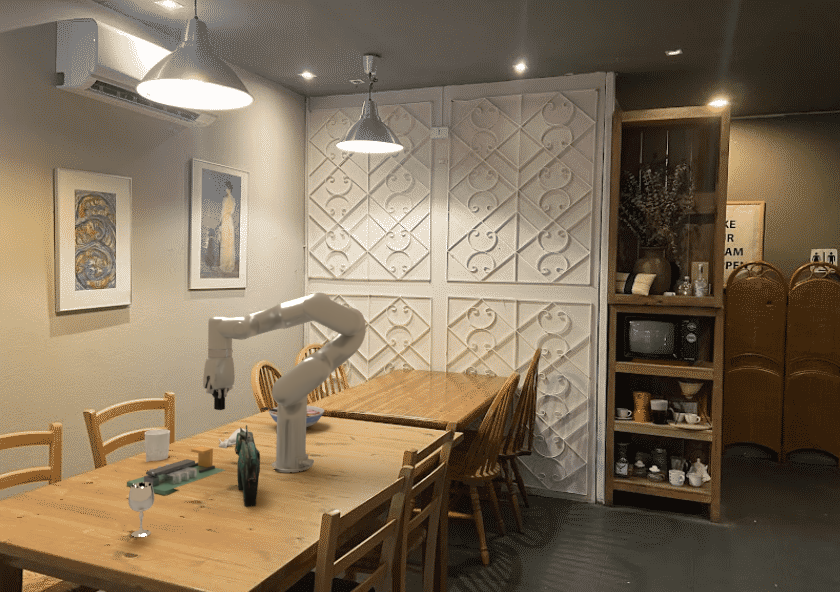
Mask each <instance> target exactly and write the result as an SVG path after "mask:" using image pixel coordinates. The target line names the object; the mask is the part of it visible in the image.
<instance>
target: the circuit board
mask: <svg viewBox="0 0 840 592" xmlns="http://www.w3.org/2000/svg"><path fill="white" fill-rule="evenodd" d="M187 467H192V468H196V469H197V478H195V479H194V478H190V479H189V481H181V483H180V484H177V483H175V484H170V483H166V482H161V481H159V485H157V486H154V487H153V490H154V494H158V495H161V496H168V495H170V494H173V493H176V492H179V491H180V489H176V488H179V487H181V486H184V485H185V486H186V485H187V484H190V483H193V482H197V481H199V480H202V479H204V478H207V477H211V476H213V475H216V474H219V473H222V472H225V471H226V469H224V468H218V467H216V465H213V464H212V466H210V467H203V466H198V461H197V462H195V464H193V465H190V466H187ZM139 482H144V476H142V477H139V478H134V479H132V480H129V481H126V487H130V488H131V485H133V484H135V483H139Z"/></svg>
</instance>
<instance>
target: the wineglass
mask: <svg viewBox="0 0 840 592" xmlns="http://www.w3.org/2000/svg"><path fill="white" fill-rule="evenodd" d="M127 500H128V506H129V508H130V509H131V510H132V511H134V512H138V513H139V514H138V517H139V529H138V530H136V531H133V532H132V533H131V534H130V536H131V535H132V536H134V537H133V538H135V537H141V538H145V536H146V537H148V536H150V535H151V534H152V532H151V530H147V529H144V528H143V519H144V512H146V511H147V510H149V509H151V508H152V506H154V502H155V493H154V490H153V486H152V483H150V482H139V483H135V484H133V485H131V487H130V489H129V493H128V499H127ZM132 536H131V537H132Z"/></svg>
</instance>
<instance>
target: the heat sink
mask: <svg viewBox="0 0 840 592" xmlns="http://www.w3.org/2000/svg"><path fill="white" fill-rule="evenodd" d="M169 464H170V463H166V464H165V466H166V465H169ZM159 467H163V466H161V465H159V466H157V468H159ZM153 469H154V468H150V469H149V471H150V470H153ZM143 477H144V482H150V483H152V486H153V487H154V486H157V485H159V481H161V482H166V483H170V484H175V483H177V484H180V483H181V481H189V479H190V478H194V479H195V478H197V469H196V468H192V467H184V468H181V469H178V470H174V471H171V472H168V473H165V474H162V475H159V476H156V477H155V476H151V475H146V474H145V475H144V476H143Z"/></svg>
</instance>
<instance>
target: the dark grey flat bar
mask: <svg viewBox="0 0 840 592" xmlns="http://www.w3.org/2000/svg"><path fill="white" fill-rule="evenodd" d="M195 463H196V460H194V459H187V458H186V459H184V460H180V461H176V462H172V463H168V464H169V465H166V464H165V465H164V466H162V467H159V466H158V467H159V468H158V467H157V468H152V469H153V470H150V469H149V470H147V471H146V472H145V476H146V475H151V476H155V477H156V476H159V475H162V474H165V473H168V472H171V471H174V470H178V469H181V468H184V467H187V466H190V465H193V464H195Z"/></svg>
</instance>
